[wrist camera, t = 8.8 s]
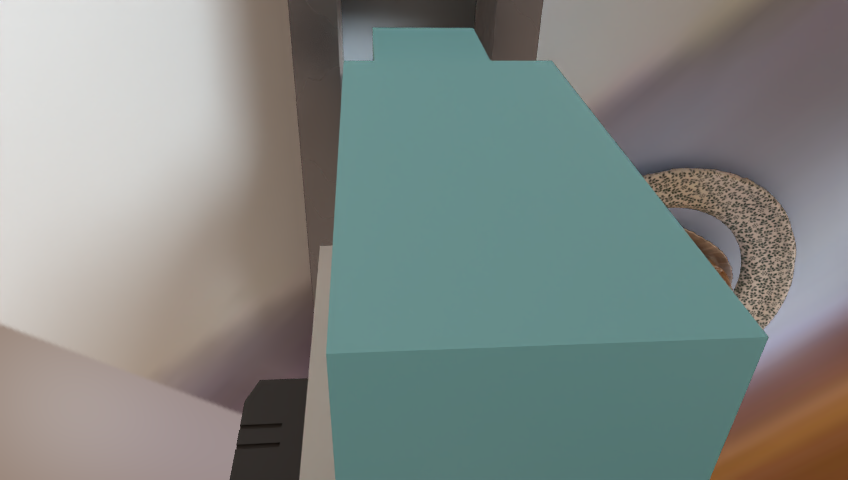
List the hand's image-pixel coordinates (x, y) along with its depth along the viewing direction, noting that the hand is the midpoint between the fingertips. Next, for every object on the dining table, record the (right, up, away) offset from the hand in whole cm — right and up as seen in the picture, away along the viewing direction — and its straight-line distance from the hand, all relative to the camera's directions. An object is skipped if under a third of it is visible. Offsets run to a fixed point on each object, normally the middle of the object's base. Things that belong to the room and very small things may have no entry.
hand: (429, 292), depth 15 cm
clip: (0, +2, +3) cm, 4 cm away
